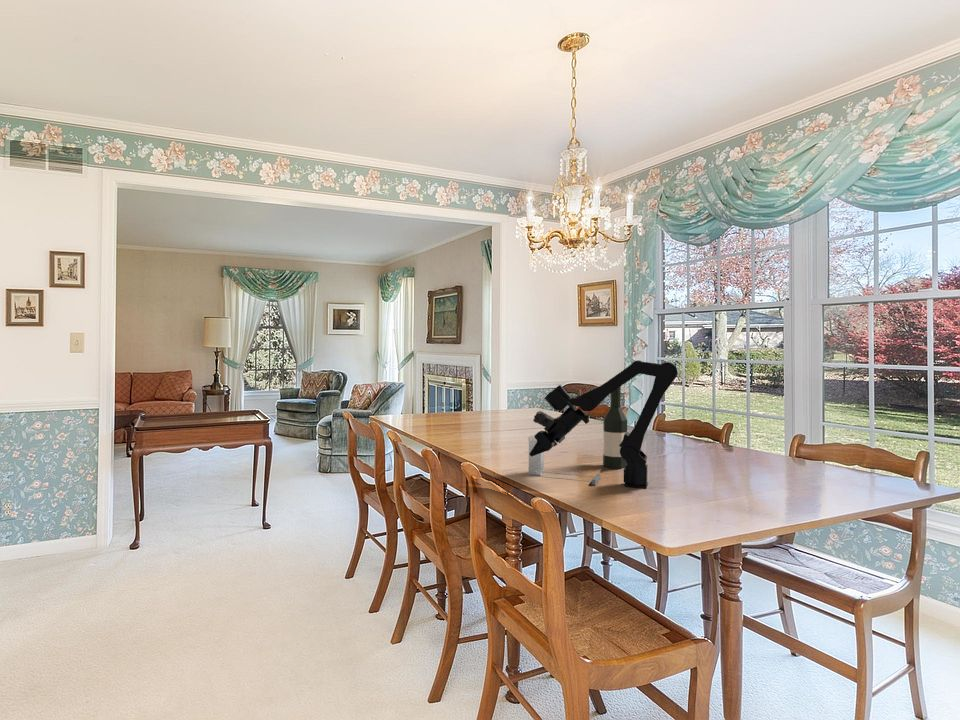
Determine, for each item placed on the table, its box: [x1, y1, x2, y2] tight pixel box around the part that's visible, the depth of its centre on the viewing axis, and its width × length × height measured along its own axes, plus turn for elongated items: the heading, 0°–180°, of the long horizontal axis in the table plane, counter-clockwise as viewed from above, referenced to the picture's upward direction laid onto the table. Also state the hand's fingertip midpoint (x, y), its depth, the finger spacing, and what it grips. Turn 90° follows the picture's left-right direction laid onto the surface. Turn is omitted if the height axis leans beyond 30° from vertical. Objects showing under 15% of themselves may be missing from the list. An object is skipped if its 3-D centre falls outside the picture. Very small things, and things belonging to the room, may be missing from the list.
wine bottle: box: [602, 386, 628, 470], centre depth 195 cm, size 8×8×30 cm
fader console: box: [526, 471, 601, 486], centre depth 177 cm, size 23×9×2 cm, turn 68°
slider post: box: [527, 434, 545, 476], centre depth 180 cm, size 4×4×12 cm
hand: (532, 454), depth 181 cm, fingers closed on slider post, 4 cm apart
